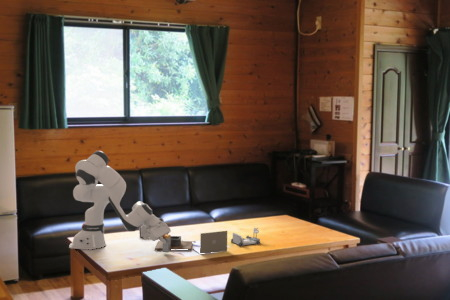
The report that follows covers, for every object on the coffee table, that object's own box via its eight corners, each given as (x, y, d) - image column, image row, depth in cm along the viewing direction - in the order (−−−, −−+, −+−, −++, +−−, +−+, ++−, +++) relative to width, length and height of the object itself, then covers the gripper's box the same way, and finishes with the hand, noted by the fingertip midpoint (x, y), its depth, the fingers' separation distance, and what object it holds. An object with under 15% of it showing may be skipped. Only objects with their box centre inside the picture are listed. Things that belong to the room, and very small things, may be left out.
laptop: (218, 246, 384) (218, 226, 383) (227, 251, 373) (227, 230, 372) (192, 250, 376) (192, 229, 375) (200, 254, 365) (200, 233, 364)
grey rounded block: (142, 238, 402) (140, 223, 404) (139, 239, 406) (137, 225, 407) (164, 235, 412) (162, 220, 413) (161, 236, 415) (159, 222, 417)
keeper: (154, 250, 373) (154, 240, 372) (158, 243, 391) (158, 234, 390) (190, 251, 373) (190, 241, 372) (192, 243, 391) (192, 234, 390)
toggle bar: (162, 251, 364) (162, 235, 363) (165, 250, 367) (165, 234, 366) (168, 252, 363) (168, 236, 362) (170, 251, 366) (170, 234, 365)
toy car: (255, 225, 401) (264, 229, 391) (255, 240, 402) (263, 244, 392) (230, 228, 394) (239, 232, 383) (230, 243, 395) (238, 247, 384)
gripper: (148, 224, 356) (163, 242, 354) (163, 217, 375) (178, 234, 373) (141, 231, 358) (156, 249, 356) (157, 224, 377) (171, 241, 375)
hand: (167, 242), depth 364 cm, fingers closed on toggle bar, 3 cm apart
